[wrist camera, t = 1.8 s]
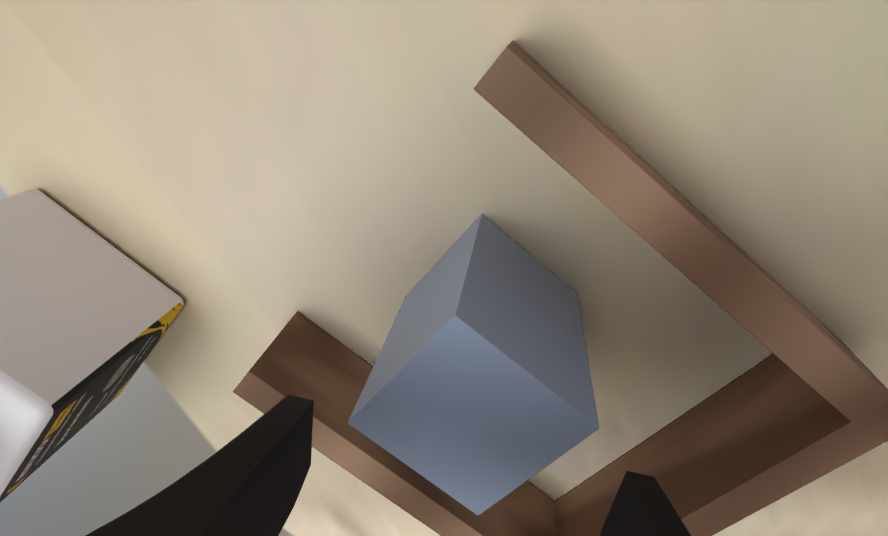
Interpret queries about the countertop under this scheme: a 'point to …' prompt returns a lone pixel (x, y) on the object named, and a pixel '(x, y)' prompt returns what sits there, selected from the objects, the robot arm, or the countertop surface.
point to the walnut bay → (677, 445)
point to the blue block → (481, 372)
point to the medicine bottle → (65, 329)
